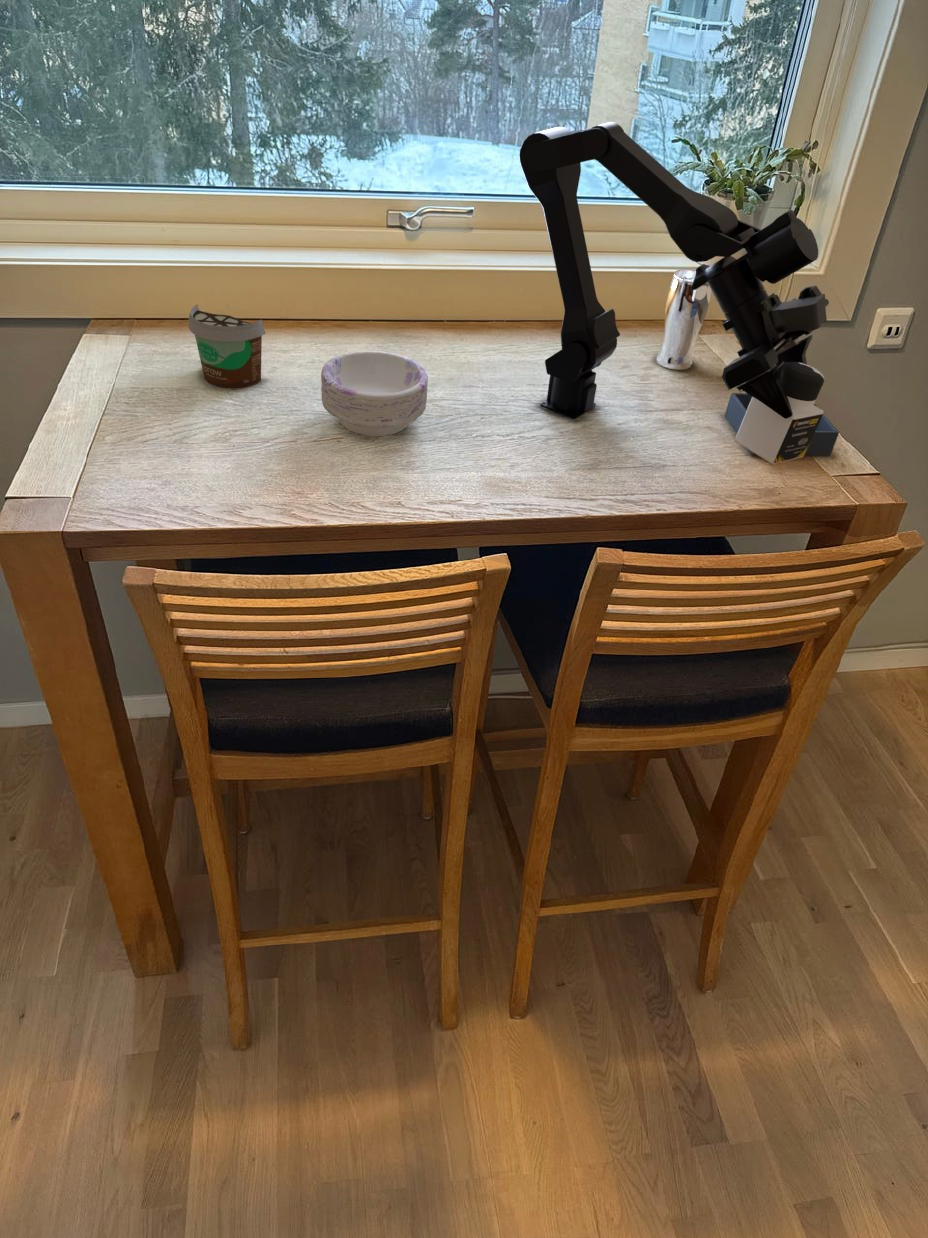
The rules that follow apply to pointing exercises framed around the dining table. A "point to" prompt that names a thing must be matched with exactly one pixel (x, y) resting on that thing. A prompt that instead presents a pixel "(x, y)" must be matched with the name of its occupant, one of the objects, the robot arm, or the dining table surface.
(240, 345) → the food container
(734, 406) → the caddy
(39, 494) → the dining table surface
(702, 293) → the silver tumbler
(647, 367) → the dining table surface
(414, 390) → the paper bowls
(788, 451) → the medicine bottle
